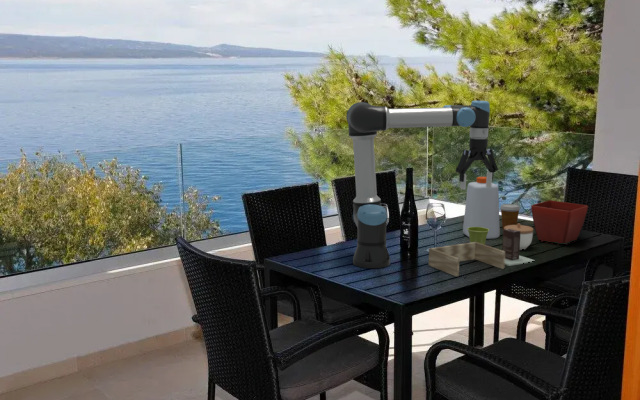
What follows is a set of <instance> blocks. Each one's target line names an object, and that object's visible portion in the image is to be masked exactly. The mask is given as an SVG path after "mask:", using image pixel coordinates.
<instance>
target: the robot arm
mask: <svg viewBox="0 0 640 400" xmlns="http://www.w3.org/2000/svg"><path fill="white" fill-rule="evenodd" d="M490 110H491V109H490V102H489V101H487V100H472V101H471V103H470V104H469V105H464V104H463V105H459V104H457V105H456V104H448V105H446V104H445V105H443V106H442V107H416V108H415V107H413V108H411V107H409V108H388V107H387V106H386V105H383V106H380V105H379V106H378V105H372V104H369V102H368V103H367V102H365V101H360V102H356V103H353V104H352V105H351V106H350V107H349V108H348V110H347V112H346V121H347V123H348V124H347V126H348V128H347V129H348V137H349V138H350V139H352V145H353V159H354V163H353V164H354V177H355V178H354V180H355V193H356V194H355V198H354V199H353V200H352V203H353V204H352V207H353V212H352V220H353V222H354V224H355V226H356V227H357V239H356V240H357V245H356V247H355V251H354V255H353V257H352V265H354V266H355V267H359V268H365V269H380V268H387V267H389V266H390V265H391V257H390V254H389V250H388V247H387V219H388V214H387V210H386V208H385V207H384V206H382V203H381V202H382V201H381V200H382V199H381V198H380V197H379V196H378V195H377V194H378V191H377V190H378V189H377V176H376V175H377V174H376V162H375V161H376V156H375V142H374V139H375V138H376V137H377V135H378V132H381V131H382V132H383V131H385V132H386V131H387V130H389V129H398V128H399V129H400V128H403V129H404V128H427V127H428V128H433V127H434V128H438V127H440V128H441V127H463V128H468V127H469V144H468V146H469V150H467V149H463V150H462V155H461V157H460V160H459V162H458V164H457V166H456V169H455V172H456V173H458V175H459V179H458V181H459V182H460V185H459V189H460V190H463V191H465V190H466V189H467V186H466V185H467V174H466V172H467V171H468V169H469V168H470V167H471V165H472V164H473V163H475V162H476V161H481V162H482V163H483V165H484V166H485V167H486V169H487V170H488V171H487V172H486V177H487V179H486V187H488V188H492V183H493V180H494V173H496V172H497V171H498V170H499V169H498V166H497V163H496V159H495V157H494V150H493V149H491V148H488V144H489V143H488V142H489V140H488V137H489V123H490ZM486 155H487V156H486ZM466 191H467V190H466Z"/></svg>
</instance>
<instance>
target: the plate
mask: <svg viewBox="0 0 640 400" xmlns="http://www.w3.org/2000/svg"><path fill="white" fill-rule="evenodd" d="M532 261H535V259H532V258H529V257H525V256H523V255H520V254H519V259H517V260H510V259H506V258H505V266H508V267H512V266H517V265H518V266H519V265H522V264H523V263H524V264H529V263H528V262H530V263H533V262H532ZM535 262H536V261H535Z"/></svg>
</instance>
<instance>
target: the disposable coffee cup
mask: <svg viewBox="0 0 640 400" xmlns="http://www.w3.org/2000/svg"><path fill="white" fill-rule="evenodd" d="M499 210H500V213H501V214H500V215H501V226H502V231H503V230H504V227H505V226H508V225H517V224H518V218H519V214H520V210H521V208H520V205H518V204H512V203H503V204H501V205H500V206H499Z"/></svg>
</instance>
